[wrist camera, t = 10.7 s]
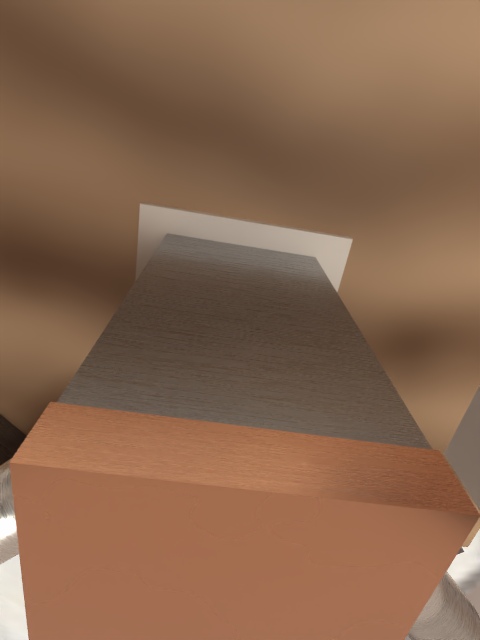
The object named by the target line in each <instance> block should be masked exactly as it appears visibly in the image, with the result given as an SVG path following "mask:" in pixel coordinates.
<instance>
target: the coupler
mask: <svg viewBox="0 0 480 640" xmlns="http://www.w3.org/2000/svg"><path fill="white" fill-rule="evenodd" d="M9 465H10V474H11V483H12V492H13V501H14V510H15V519H16V528H17V537H18V546H19V555H20V564H21V573H22V582H23V591H24V600H25V609H26V618H27V627H28V636H29V640H404V639H405V637H406V636H407V634H408V633H409V631H410V629H411V628H412V626H413V624H414V623H415V621H416V620H417V618H418V616H419V615H420V613H421V612H422V610H423V608H424V607H425V605H426V603H427V602H428V600H429V599H430V597H431V595H432V594H433V592H434V590H435V589H436V587H437V586H438V584H439V582H440V581H441V579H442V577H443V576H444V574H445V573H446V571H447V569H448V568H449V566H450V564H451V563H452V561H453V560H454V558H455V556H456V555H457V553H458V551H459V550H460V548H461V547H462V545H463V543H464V542H465V540H466V539H467V537H468V535H469V534H470V532H471V530H472V529H473V527H474V526H475V524H476V522H477V521H478V519H479V517H480V514H479V512H478V511H477V509H476V508H475V506H474V504H473V503H472V501H471V500H470V498H469V496H468V495H467V493H466V492H465V490H464V488H463V487H462V485H461V484H460V482H459V481H458V479H457V477H456V476H455V474H454V473H453V471H452V469H451V468H450V466H449V465H448V463H447V461H446V460H445V458H444V457H443V455H442V453H441V452H440V451H439V450H433V449H432V448H431V446H430V444H429V443H428V441H427V439H426V438H425V436H424V434H423V433H422V431H421V430H420V428H419V426H418V425H417V423H416V421H415V420H414V418H413V416H412V415H411V413H410V411H409V410H408V408H407V407H406V405H405V403H404V402H403V400H402V398H401V397H400V395H399V393H398V392H397V390H396V388H395V387H394V385H393V384H392V382H391V380H390V379H389V377H388V375H387V374H386V372H385V370H384V369H383V367H382V365H381V364H380V362H379V361H378V359H377V357H376V356H375V354H374V352H373V351H372V349H371V347H370V346H369V344H368V342H367V341H366V339H365V338H364V336H363V334H362V333H361V331H360V329H359V328H358V326H357V324H356V323H355V321H354V319H353V318H352V316H351V315H350V313H349V311H348V310H347V308H346V306H345V305H344V303H343V301H342V300H341V298H340V296H339V295H338V293H337V292H336V290H335V288H334V287H333V285H332V283H331V282H330V280H329V278H328V277H327V275H326V274H325V272H324V270H323V269H322V267H321V265H320V264H319V262H318V260H317V259H316V257H311V256H305V255H299V254H293V253H286V252H280V251H274V250H268V249H261V248H255V247H249V246H243V245H237V244H230V243H224V242H218V241H212V240H206V239H199V238H193V237H187V236H181V235H174V234H168V233H167V234H166V236H165V237H164V239H163V240H162V242H161V243H160V245H159V246H158V248H157V249H156V251H155V253H154V254H153V256H152V257H151V259H150V260H149V262H148V263H147V265H146V266H145V268H144V269H143V271H142V272H141V274H140V276H139V277H138V279H137V280H136V282H135V283H134V285H133V286H132V288H131V289H130V291H129V292H128V294H127V295H126V297H125V298H124V300H123V302H122V303H121V305H120V306H119V308H118V309H117V311H116V312H115V314H114V315H113V317H112V318H111V320H110V321H109V323H108V325H107V326H106V328H105V329H104V331H103V332H102V334H101V335H100V337H99V338H98V340H97V341H96V343H95V344H94V346H93V347H92V349H91V351H90V352H89V354H88V355H87V357H86V358H85V360H84V361H83V363H82V364H81V366H80V367H79V369H78V370H77V372H76V374H75V375H74V377H73V378H72V380H71V381H70V383H69V384H68V386H67V387H66V389H65V390H64V392H63V393H62V395H61V396H60V398H59V400H58V401H57V403H56V402H50V403H49V405H48V406H47V407H46V409H45V410H44V412H43V413H42V415H41V416H40V418H39V419H38V421H37V422H36V424H35V425H34V427H33V428H32V430H31V431H30V433H29V434H28V436H27V437H26V438H25V440H24V441H23V443H22V444H21V446H20V447H19V449H18V450H17V452H16V453H15V455H14V456H13V458H12V459H11V461H10V462H9Z"/></svg>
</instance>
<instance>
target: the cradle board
mask: <svg viewBox="0 0 480 640" xmlns="http://www.w3.org/2000/svg"><path fill="white" fill-rule="evenodd" d="M167 233H168V234H174V235H181V236H187V237H193V238H199V239H206V240H212V241H218V242H224V243H230V244H237V245H243V246H249V247H255V248H261V249H268V250H274V251H280V252H286V253H293V254H299V255H305V256H311V257H316V259H317V260H318V262H319V264H320V265H321V267H322V269H323V270H324V272H325V274H326V275H327V277H328V278H329V280H330V282H331V283H332V285H333V287H334V288H335V290H336V292H337V293H338V295H339V296H340V298H341V300H342V301H343V303H344V305H345V306H346V308H347V310H348V311H349V313H350V315H351V316H352V318H353V319H354V321H355V323H356V324H357V326H358V328H359V329H360V331H361V333H362V334H363V336H364V338H365V339H366V341H367V342H368V344H369V346H370V347H371V349H372V351H373V352H374V354H375V356H376V357H377V359H378V361H379V362H380V364H381V365H382V367H383V369H384V370H385V372H386V374H387V375H388V377H389V379H390V380H391V382H392V384H393V385H394V387H395V388H396V390H397V392H398V393H399V395H400V397H401V398H402V400H403V402H404V403H405V405H406V407H407V408H408V410H409V411H410V413H411V415H412V416H413V418H414V420H415V421H416V423H417V425H418V426H419V428H420V430H421V431H422V433H423V434H424V436H425V438H426V439H427V441H428V443H429V444H430V446H431V448H432V449H433V450H439V451H440V452H441V453H442V455H443V457H444V458H445V460H446V461H447V463H448V465H449V466H450V468H451V469H452V471H453V473H454V474H455V476H456V477H457V479H458V481H459V482H460V484H461V485H462V487H463V488H464V490H465V492H466V493H467V495H468V496H469V498H470V500H471V501H472V503H473V504H474V506H475V508H476V509H477V511H478V512H479V514H480V511H479V509H478V507H477V506H476V504H475V503H474V501H473V499H472V498H471V496H470V495H469V493H468V491H467V490H466V488H465V487H464V485H463V483H462V482H461V480H460V479H459V477H458V476H457V474H456V472H455V471H454V469H453V468H452V466H451V464H450V463H449V461H448V460H447V458H446V456H445V455H444V452H445V451H446V449H447V447H448V445H449V443H450V441H451V439H452V437H453V435H454V433H455V432H456V430H457V428H458V426H459V424H460V422H461V420H462V418H463V416H464V414H465V412H466V411H467V409H468V407H469V405H470V403H471V401H472V399H473V397H474V395H475V393H476V392H477V390H478V388H479V386H480V0H0V414H1V415H2V416H3V417H5V418H6V419H7V420H8V421H9V422H11V423H12V424H13V425H14V426H16V427H17V428H18V429H19V430H20V431H22V432H23V433H24V434H25V435H27V436H28V434H29V433H30V431H31V430H32V428H33V427H34V425H35V424H36V422H37V421H38V419H39V418H40V416H41V415H42V413H43V412H44V410H45V409H46V407H47V406H48V405H49V403H50V402H56V403H57V401H58V400H59V398H60V396H61V395H62V393H63V392H64V390H65V389H66V387H67V386H68V384H69V383H70V381H71V380H72V378H73V377H74V375H75V374H76V372H77V370H78V369H79V367H80V366H81V364H82V363H83V361H84V360H85V358H86V357H87V355H88V354H89V352H90V351H91V349H92V347H93V346H94V344H95V343H96V341H97V340H98V338H99V337H100V335H101V334H102V332H103V331H104V329H105V328H106V326H107V325H108V323H109V321H110V320H111V318H112V317H113V315H114V314H115V312H116V311H117V309H118V308H119V306H120V305H121V303H122V302H123V300H124V298H125V297H126V295H127V294H128V292H129V291H130V289H131V288H132V286H133V285H134V283H135V282H136V280H137V279H138V277H139V276H140V274H141V272H142V271H143V269H144V268H145V266H146V265H147V263H148V262H149V260H150V259H151V257H152V256H153V254H154V253H155V251H156V249H157V248H158V246H159V245H160V243H161V242H162V240H163V239H164V237H165V236H166V234H167ZM479 529H480V517H479V519H478V521H477V522H476V524H475V526H474V527H473V529H472V530H471V532H470V534H469V535H468V537H467V539H466V540H465V542H464V543H463V545H462V546H463V547H468V546H469V545H470V543H471V541H472V540H473V538H474V537H475V535H476V533H477V532H478V530H479Z"/></svg>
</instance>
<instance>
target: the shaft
mask: <svg viewBox="0 0 480 640" xmlns="http://www.w3.org/2000/svg"><path fill="white" fill-rule="evenodd" d="M26 437H27V435H25V434H24V433H23V432H22V431H20V430H19V429H18V428H17V427H16V426H14V425H13V424H12V423H11V422H9V421H8V420H7V419H6V418H5V417H3V416H2V415H1V414H0V564H2V563H4V562H5V561H7V560H9V559H11V558H12V557H14V556H16V555H18V554H19V546H18V537H17V528H16V519H15V510H14V501H13V492H12V483H11V474H10V465H9V462H10V461H11V459H12V458H13V456H14V455H15V453H16V452H17V450H18V449H19V447H20V446H21V444H22V443H23V441H24V440H25V438H26Z"/></svg>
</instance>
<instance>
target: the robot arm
mask: <svg viewBox="0 0 480 640" xmlns="http://www.w3.org/2000/svg"><path fill="white" fill-rule="evenodd" d="M444 455H445V456H446V458H447V460H448V461H449V463H450V464H451V466H452V468H453V469H454V471H455V472H456V474H457V476H458V477H459V479H460V480H461V482H462V483H463V485H464V487H465V488H466V490H467V491H468V493H469V495H470V496H471V498H472V499H473V501H474V503H475V504H476V506H477V507H478V509H479V511H480V386H479V388H478V390H477V392H476V393H475V395H474V397H473V399H472V401H471V403H470V405H469V407H468V409H467V411H466V412H465V414H464V416H463V418H462V420H461V422H460V424H459V426H458V428H457V430H456V432H455V433H454V435H453V437H452V439H451V441H450V443H449V445H448V447H447V449H446V451H445V452H444Z"/></svg>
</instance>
